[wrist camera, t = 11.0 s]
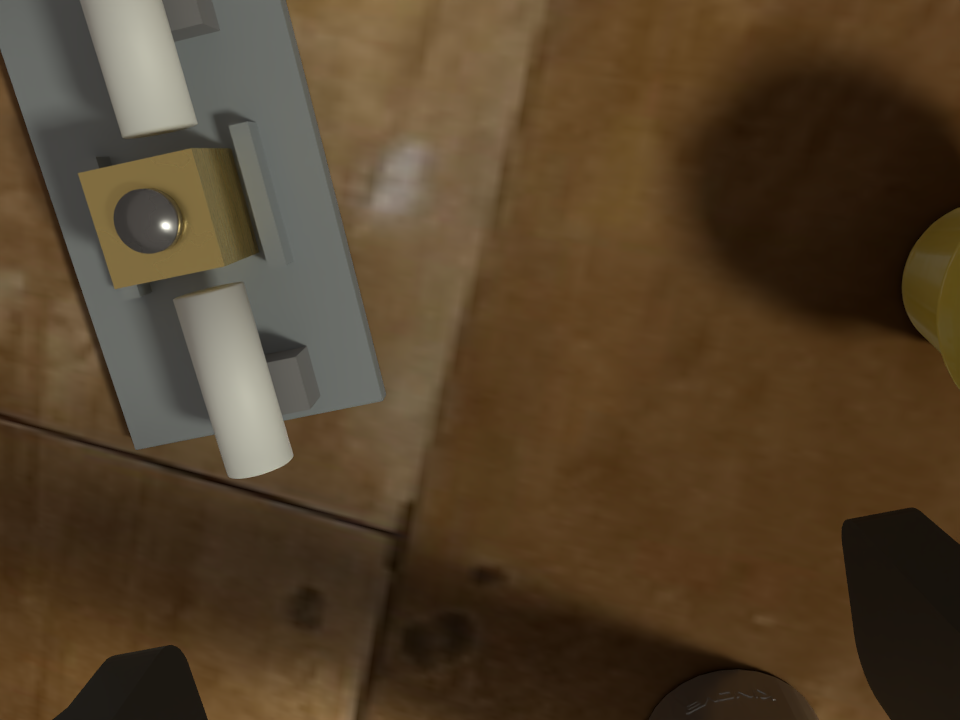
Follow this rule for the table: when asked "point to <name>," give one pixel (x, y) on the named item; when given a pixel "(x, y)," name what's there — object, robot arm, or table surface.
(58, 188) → the twin roller base
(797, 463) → the table surface
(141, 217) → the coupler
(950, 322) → the plant pot
